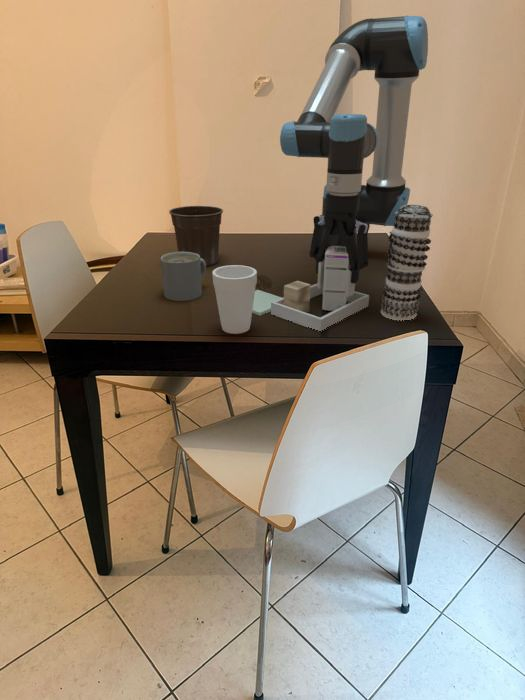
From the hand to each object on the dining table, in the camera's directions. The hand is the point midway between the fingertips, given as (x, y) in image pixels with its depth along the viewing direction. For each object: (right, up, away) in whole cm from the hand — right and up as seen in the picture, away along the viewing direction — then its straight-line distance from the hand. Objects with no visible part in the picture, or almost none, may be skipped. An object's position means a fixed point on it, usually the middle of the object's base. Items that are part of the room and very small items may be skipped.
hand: (335, 290), depth 113 cm
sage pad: (-19, -3, +4) cm, 19 cm away
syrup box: (0, -4, +2) cm, 4 cm away
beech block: (-9, -5, -1) cm, 11 cm away
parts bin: (-4, -5, +1) cm, 6 cm away
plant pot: (-38, +14, +36) cm, 54 cm away
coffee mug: (-37, +1, +11) cm, 39 cm away
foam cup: (-24, -10, -8) cm, 27 cm away
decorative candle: (+15, -6, -1) cm, 16 cm away
